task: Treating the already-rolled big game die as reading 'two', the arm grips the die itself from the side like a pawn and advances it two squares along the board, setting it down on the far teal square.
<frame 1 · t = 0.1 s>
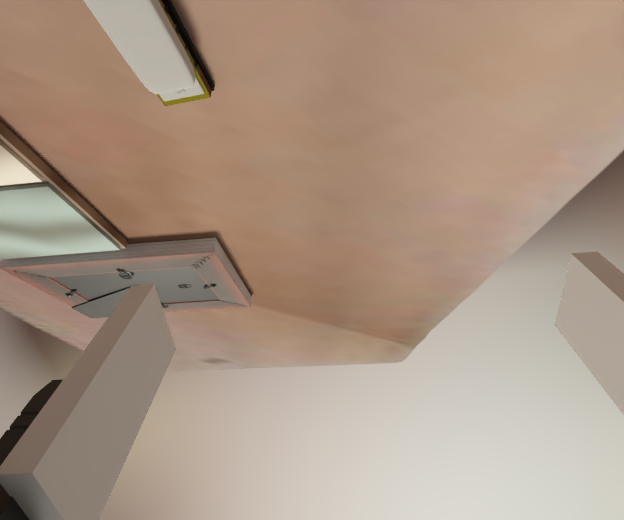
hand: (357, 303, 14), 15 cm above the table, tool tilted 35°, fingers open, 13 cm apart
picture frame: (145, 270, 49), on the table
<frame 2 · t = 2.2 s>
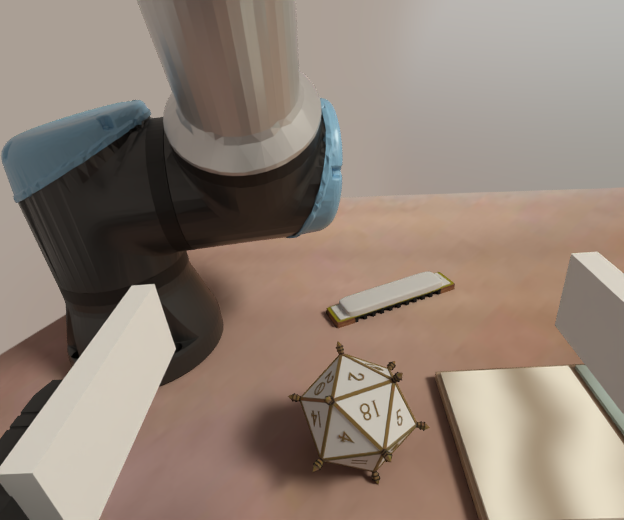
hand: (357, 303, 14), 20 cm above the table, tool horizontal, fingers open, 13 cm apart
harmonica: (391, 305, 47), on the table
board: (612, 437, 30), on the table
game die: (359, 450, 32), on the table
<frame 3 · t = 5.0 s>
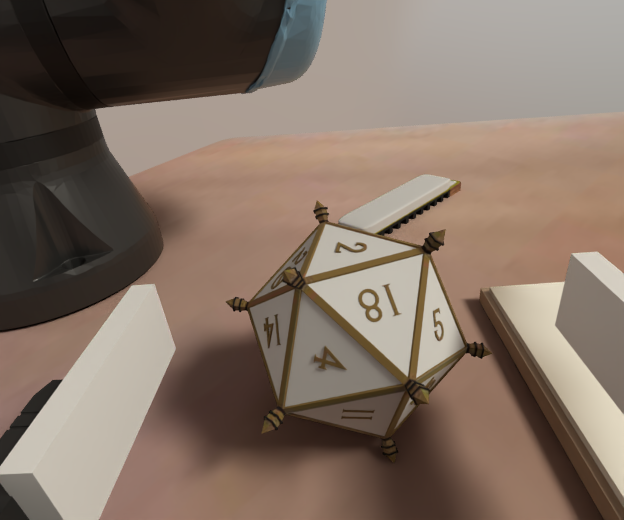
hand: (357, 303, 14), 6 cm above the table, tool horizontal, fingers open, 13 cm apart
harmonica: (397, 221, 34), on the table
game die: (358, 405, 18), on the table
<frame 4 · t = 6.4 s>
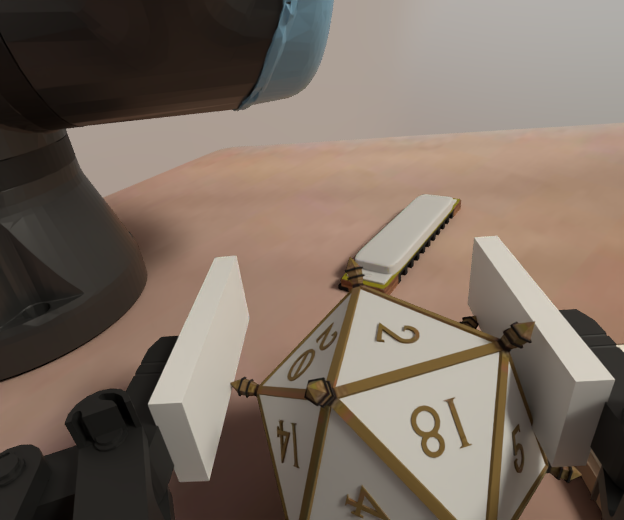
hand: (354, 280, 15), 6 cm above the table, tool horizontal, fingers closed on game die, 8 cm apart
harmonica: (408, 250, 30), on the table
game die: (394, 512, 14), on the table, touching gripper
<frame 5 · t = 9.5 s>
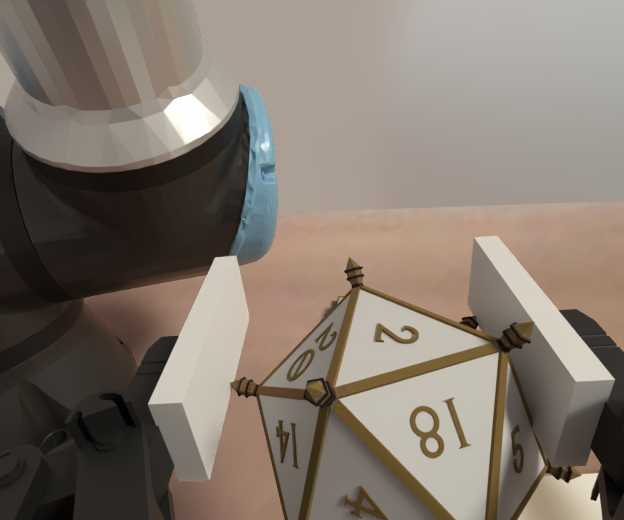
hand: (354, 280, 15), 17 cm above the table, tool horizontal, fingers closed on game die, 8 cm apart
game die: (393, 512, 14), point 11 cm above the table, touching gripper
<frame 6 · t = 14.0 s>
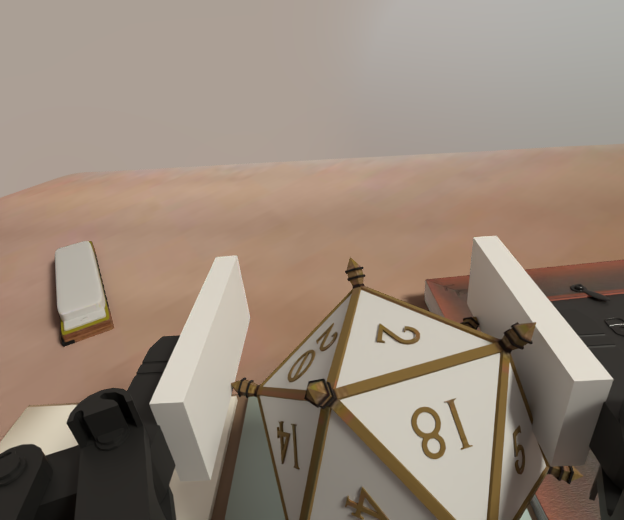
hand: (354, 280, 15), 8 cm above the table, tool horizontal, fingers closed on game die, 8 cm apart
harmonica: (84, 294, 33), on the table
game die: (394, 513, 14), point 2 cm above the table, touching gripper
when the fingers open (8 cm above the table, at t = 14.3 s): game die stays where it is, resting on board.
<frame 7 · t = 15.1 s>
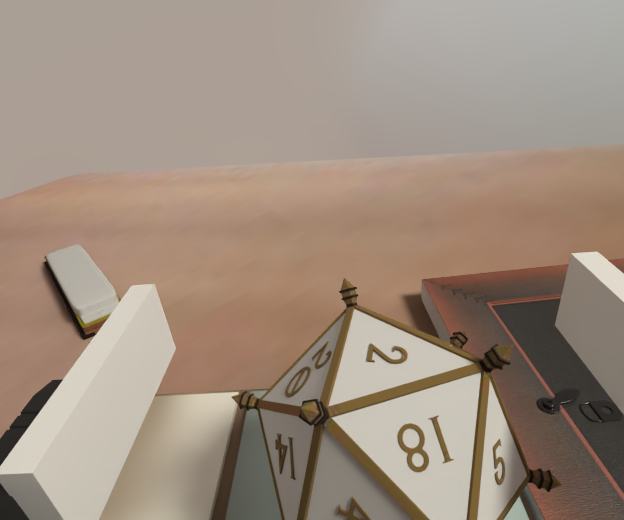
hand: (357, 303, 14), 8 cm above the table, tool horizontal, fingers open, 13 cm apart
harmonica: (85, 294, 33), on the table
game die: (387, 517, 15), point 1 cm above the table, touching board
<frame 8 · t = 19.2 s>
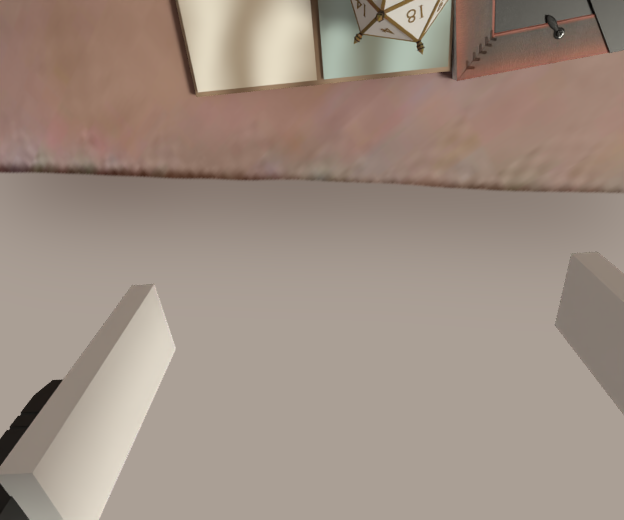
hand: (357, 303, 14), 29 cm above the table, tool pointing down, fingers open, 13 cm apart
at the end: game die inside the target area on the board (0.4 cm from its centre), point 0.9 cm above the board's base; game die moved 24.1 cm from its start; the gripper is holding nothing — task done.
